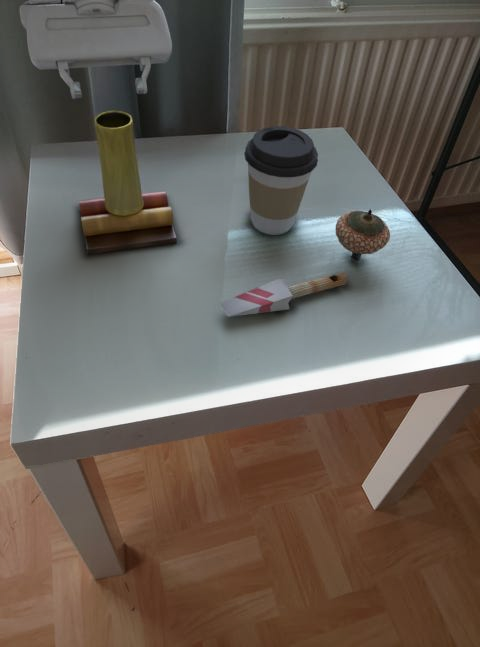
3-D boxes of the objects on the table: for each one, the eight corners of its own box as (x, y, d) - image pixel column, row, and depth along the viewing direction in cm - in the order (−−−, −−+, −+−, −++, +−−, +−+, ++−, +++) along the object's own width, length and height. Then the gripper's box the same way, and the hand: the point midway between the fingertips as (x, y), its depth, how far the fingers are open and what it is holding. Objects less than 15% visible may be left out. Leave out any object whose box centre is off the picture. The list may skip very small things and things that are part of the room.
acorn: (318, 252, 82) (330, 201, 74) (356, 237, 85) (371, 186, 78) (351, 284, 78) (367, 232, 70) (390, 266, 81) (409, 215, 73)
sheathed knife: (219, 292, 70) (339, 264, 77) (217, 306, 72) (335, 277, 79) (230, 311, 68) (353, 280, 75) (228, 325, 70) (348, 294, 77)
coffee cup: (279, 195, 92) (291, 116, 80) (318, 230, 86) (336, 150, 74) (226, 213, 87) (230, 131, 76) (263, 251, 81) (274, 169, 70)
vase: (97, 202, 80) (82, 116, 70) (130, 189, 83) (120, 104, 72) (118, 221, 78) (106, 134, 67) (151, 207, 80) (144, 122, 70)
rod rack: (87, 254, 78) (83, 234, 75) (81, 208, 85) (76, 188, 82) (176, 242, 81) (176, 222, 78) (162, 199, 89) (161, 179, 86)
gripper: (12, -16, 67) (32, 91, 69) (164, -19, 72) (180, 81, 73) (20, 10, 73) (39, 107, 75) (160, 6, 78) (175, 98, 79)
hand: (110, 94), depth 74 cm, fingers open, 8 cm apart
